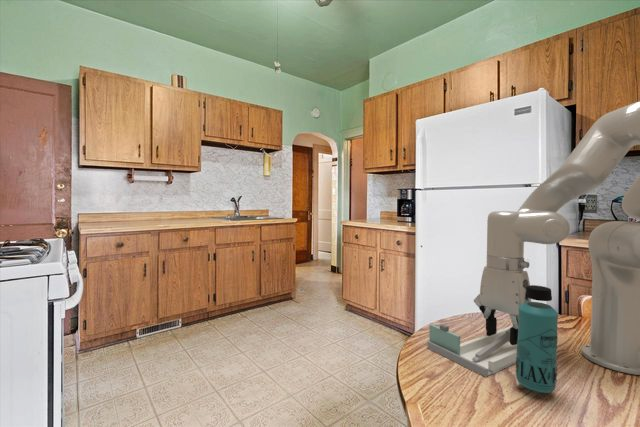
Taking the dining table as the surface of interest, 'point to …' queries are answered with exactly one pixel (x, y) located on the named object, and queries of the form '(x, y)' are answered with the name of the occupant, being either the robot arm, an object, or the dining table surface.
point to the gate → (444, 338)
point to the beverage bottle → (537, 342)
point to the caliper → (492, 346)
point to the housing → (468, 350)
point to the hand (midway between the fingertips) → (502, 338)
